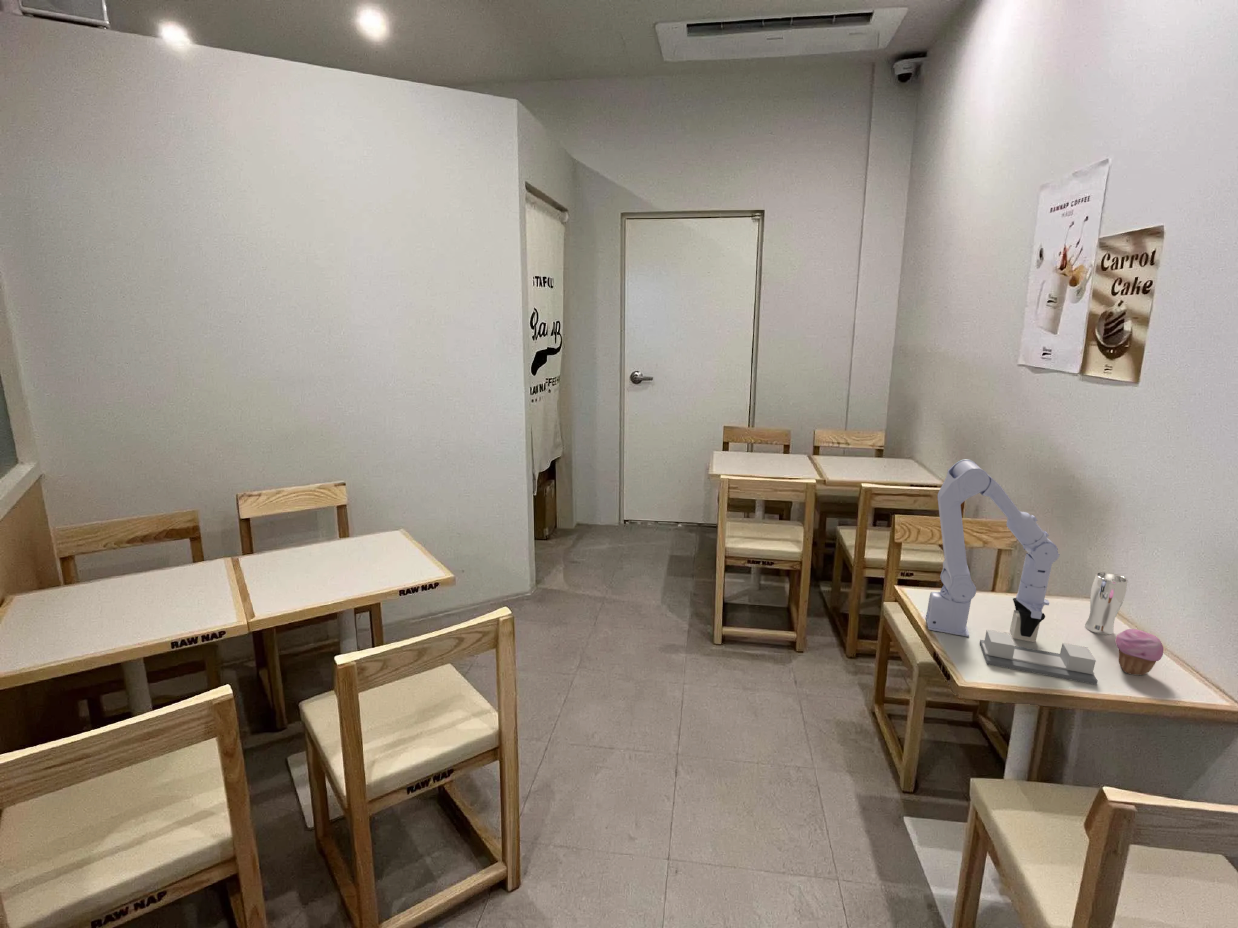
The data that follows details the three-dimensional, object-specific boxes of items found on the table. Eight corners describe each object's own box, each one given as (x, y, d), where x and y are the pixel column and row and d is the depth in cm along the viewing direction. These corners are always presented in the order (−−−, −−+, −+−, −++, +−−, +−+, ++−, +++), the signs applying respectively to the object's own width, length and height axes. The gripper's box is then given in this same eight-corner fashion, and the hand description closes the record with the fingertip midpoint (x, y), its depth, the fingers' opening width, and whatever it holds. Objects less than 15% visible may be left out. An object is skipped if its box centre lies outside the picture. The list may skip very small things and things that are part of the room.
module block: (1013, 638, 164) (1017, 616, 163) (1009, 630, 168) (1014, 609, 166) (1035, 642, 163) (1040, 619, 161) (1031, 634, 166) (1036, 612, 165)
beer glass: (1086, 632, 168) (1099, 579, 164) (1079, 620, 174) (1091, 569, 170) (1119, 638, 165) (1132, 585, 161) (1110, 626, 172) (1123, 574, 168)
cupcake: (1104, 656, 157) (1114, 619, 154) (1148, 665, 154) (1158, 627, 151) (1116, 676, 149) (1126, 637, 146) (1162, 685, 146) (1174, 645, 143)
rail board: (986, 663, 152) (990, 645, 151) (979, 643, 161) (982, 625, 160) (1096, 684, 145) (1101, 665, 144) (1082, 661, 154) (1087, 643, 153)
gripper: (1060, 597, 153) (1049, 648, 157) (1044, 573, 167) (1034, 621, 170) (1026, 592, 156) (1016, 642, 159) (1013, 569, 169) (1004, 616, 172)
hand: (1023, 631), depth 165 cm, fingers closed on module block, 4 cm apart
